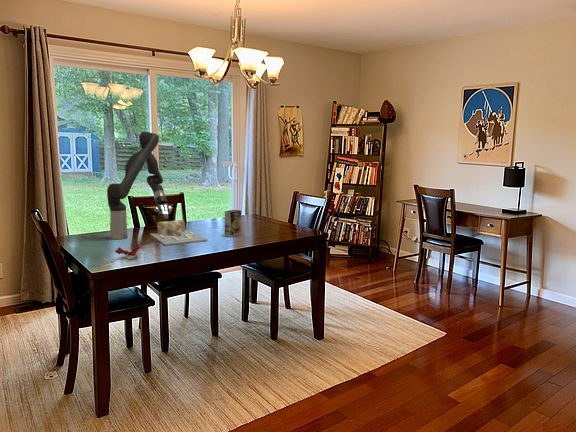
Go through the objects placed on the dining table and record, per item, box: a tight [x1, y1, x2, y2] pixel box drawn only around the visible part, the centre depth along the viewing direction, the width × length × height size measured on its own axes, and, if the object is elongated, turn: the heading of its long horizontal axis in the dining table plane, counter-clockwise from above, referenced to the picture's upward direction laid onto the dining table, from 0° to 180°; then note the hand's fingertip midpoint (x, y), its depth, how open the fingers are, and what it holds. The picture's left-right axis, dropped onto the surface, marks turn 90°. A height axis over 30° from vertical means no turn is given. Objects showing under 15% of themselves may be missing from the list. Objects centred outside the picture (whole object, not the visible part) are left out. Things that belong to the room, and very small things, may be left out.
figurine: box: [114, 243, 143, 260], centre depth 232 cm, size 15×12×7 cm
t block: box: [156, 219, 186, 237], centre depth 284 cm, size 16×15×7 cm
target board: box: [150, 229, 209, 247], centre depth 278 cm, size 26×32×2 cm
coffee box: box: [224, 209, 242, 238], centre depth 287 cm, size 9×6×16 cm
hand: (166, 219), depth 296 cm, fingers closed
